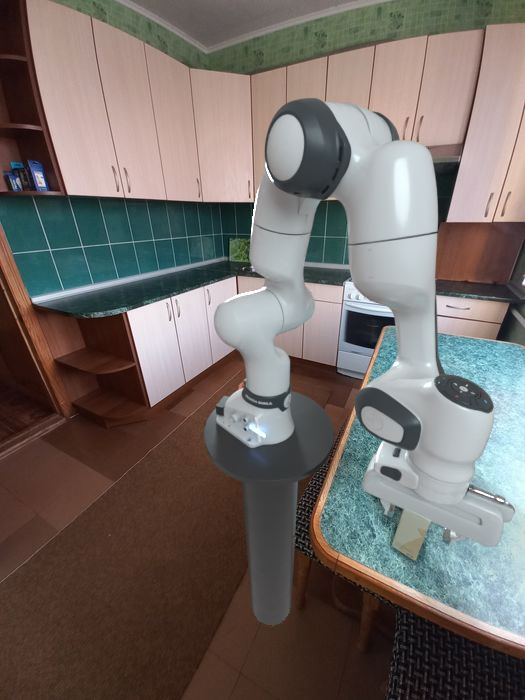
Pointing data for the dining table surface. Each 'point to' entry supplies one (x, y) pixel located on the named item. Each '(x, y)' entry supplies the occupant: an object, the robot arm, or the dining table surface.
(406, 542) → the box
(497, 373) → the dining table surface
